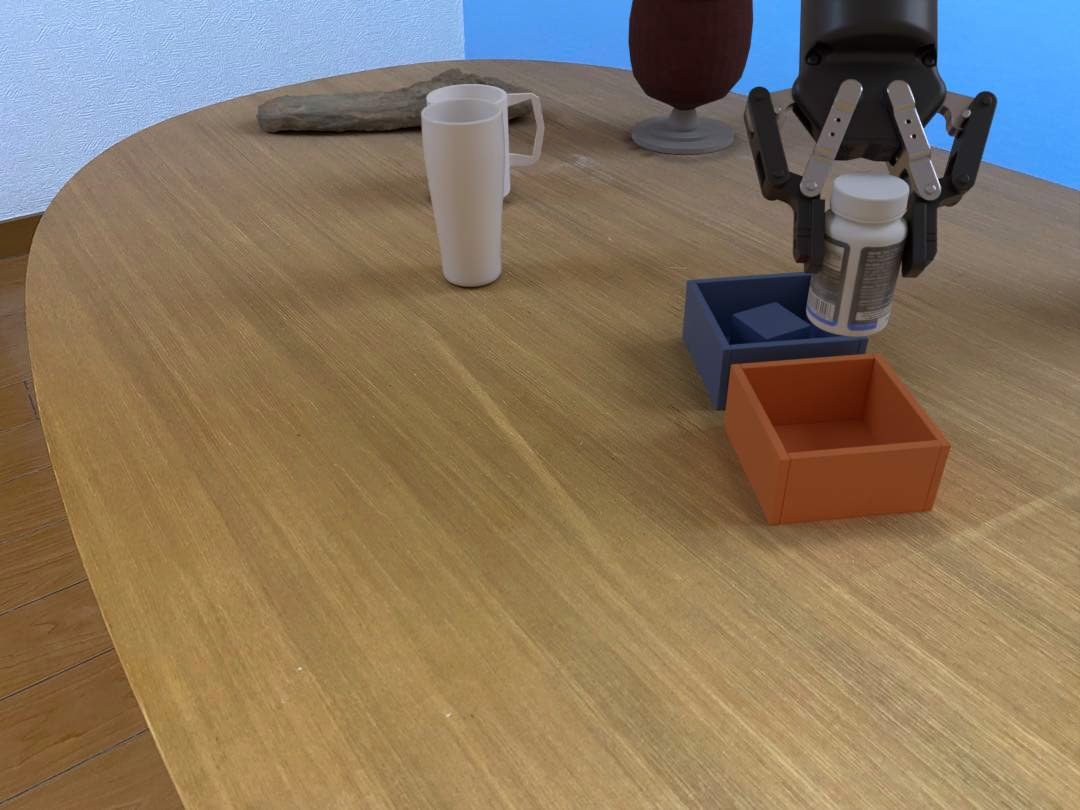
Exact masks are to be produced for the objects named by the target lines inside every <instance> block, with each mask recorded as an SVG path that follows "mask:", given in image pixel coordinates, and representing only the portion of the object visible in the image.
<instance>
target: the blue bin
mask: <svg viewBox="0 0 1080 810" xmlns="http://www.w3.org/2000/svg"><path fill="white" fill-rule="evenodd" d="M810 281H811V274H807V273H804V271H796V272H795V271H794V272H781V273H766V274H754V275H738V276H725V277H723V276H722V277H708V278H697V279H687V280H686V287H685V299H684V312H683V324H682V335H681V336H682V339H683V342H684V344H685V346H686V348H687V350H688V353H689V354H690V357H691V358H692V362H693V363H694V366H695V367H696V369H697V372H698V374H699V376H700V378H701V381H702V382H703V385H704V387H705V389H706V391H707V393H708V397H709V398H710V401H711V402H712V404H713V406H714V408H715V410H716V411H726V403H727V394H728V386H729V377H730V369H731V365H732V364H744V363H756V362H769V361H782V360H795V359H807V358H820V357H833V356H846V355H858V354H867V349H868V343H869V337H868V336H861V337H853V336H844V335H838V334H833V333H830V332H827V331H824V330H822V329H820V328H819V327H817V326H815V325H814V324H813V323H812V322H811V321H810V320H809V318H808V316H807V313H806V307H807V300H808V295H809V288H810ZM774 302H777V303H778V304H780V305H781V306H783V307H784V308H786V309H787V310H789V311H790V312H792V313H793V314H794V315H796V316H797V317H799V318H800V319H802V320H803V321H805V322H806V323H808V324H809V325H810V331H809V337H808V339H800V340H787V341H774V342H761V343H748V344H735V345H729V342H730V333H731V324H732V316H733V314H735V313H739V312H742V311H746V310H749V309H753V308H756V307H760V306H763V305H767V304H770V303H774Z"/></svg>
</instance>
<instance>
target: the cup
mask: <svg viewBox="0 0 1080 810" xmlns="http://www.w3.org/2000/svg"><path fill="white" fill-rule="evenodd" d="M532 93H533V92H532ZM532 93H516V94H507V93H506V92H505V91H504V90H502V89H500V88H498V87H494V86H489V85H481V84H462V85H453V86H447V87H443V88H439V89H436V90H434V91H432V92H430V93H429V94H428V95H427V97H426V100H427V106H428V105H430V104H433V103H436V102H439V101H443V100H449V99H458V98H474V99H483V100H488V101H491V102H494V103H496V104H498V105H499V106H500V107H501V108H502V115H503V125H504V139H505V173H504V194H503V198H505V197H507V196H508V195H509V193H510V192H511V167H528V166H529V167H530V166H534V165H535V163H536V162H537V161H538V160H539V159H540V158H541V153H542V148H543V143H544V135H545V130H546V127H545V122H544V117H543V110H542V105H541V101H540V97H539V96H537V95H536V94H534V93H533V94H532ZM529 99H531V100H532V105H533V113H534V118H535V123H536V132H535V138H534V144H533V149H532V155H527V154H521V153H515V152H514V153H513V152H510V139H509V137H510V136H509V119H508V106H511V105H514V104H517V103H520V102H523V101H526V100H529Z"/></svg>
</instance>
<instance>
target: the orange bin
mask: <svg viewBox="0 0 1080 810" xmlns="http://www.w3.org/2000/svg"><path fill="white" fill-rule="evenodd" d="M724 411H725V412H724V420H723V428H724V430H725V432H726V435H727V436H728V438H729V441H730V443H731V445H732V447H733V450H734V451H735V454H736V456H737V458H738V460H739V463H740V464H741V466H742V469H743V472H744V473H745V476H746V477H747V480H748V482H749V484H750V486H751V489H752V491H753V493H754V494H755V497H756V499H757V501H758V504H759V506H760V508H761V510H762V513H763V514H764V517H765V518H766V521H767V523H768V525H769V526H770V527H771V526H781V525H782V526H783V525H792V524H802V523H803V524H804V523H813V522H824V521H833V520H843V519H844V520H845V519H856V518H857V519H858V518H865V517H866V518H867V517H876V516H889V515H898V514H911V513H919V512H920V513H921V512H932V511H933V508H934V506H935V505H934V504H935V502H936V498H937V495H938V491H939V488H940V485H941V481H942V478H943V474H944V471H945V468H946V464H947V461H948V458H949V454H950V452H951V449H952V444H951V443H950V442H949V440H948V439H947V438H946V436H945V435H944V434H943V432H942V430H940V429H939V427H938V426H937V424H936V423H935V422H934V420H933V419H932V418H931V417H930V415H928V413H927V412H926V411H925V409H924V408H923V407H922V406H921V404H920V403H919V401H918V400H917V399H916V397H915V396H914V395H913V393H912V392H911V391H910V390H909V389H908V387H907V386H906V384H904V382H903V381H902V380H901V378H900V377H899V376H898V375H897V373H896V372H895V370H894V369H893V368H892V367H891V365H890V364H889V363H888V362H887V360H886V359H885V358H884V356H883V355H882V354H881V352H871V353H865V354H858V355H846V356H833V357H820V358H807V359H795V360H782V361H769V362H756V363H744V364H732V365H731V369H730V377H729V386H728V394H727V403H726V410H724Z"/></svg>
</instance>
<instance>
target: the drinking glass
mask: <svg viewBox="0 0 1080 810" xmlns="http://www.w3.org/2000/svg"><path fill="white" fill-rule="evenodd" d="M420 127H421V140H422V141H421V142H422V143H421V144H422V152H423V160H424V161H423V162H424V168H425V173H426V180H427V185H428V190H429V195H430V202H431V207H432V212H433V217H434V223H435V229H436V235H437V241H438V246H439V252H440V258H441V270H442V275H443V277H444V278H445V280H446V281H448V283H450V284H453V285H455V286H457V287H463V288H477V287H483V286H486V285H489V284H491V283H493V282H495V281H496V280H498V278H499V277H500V275H501V274H502V271H503V270H502V269H503V265H502V264H503V263H502V262H503V261H502V237H503V213H504V211H503V210H504V197H503V194H504V173H505V139H504V125H503V115H502V108H501V107H500V106H499V105H498V104H496V103H494V102H491V101H488V100H483V99H474V98H458V99H449V100H443V101H439V102H436V103H433V104H430V105H428V106H427V107H425V108H424V109H423V110H422V112H421V126H420Z"/></svg>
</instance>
